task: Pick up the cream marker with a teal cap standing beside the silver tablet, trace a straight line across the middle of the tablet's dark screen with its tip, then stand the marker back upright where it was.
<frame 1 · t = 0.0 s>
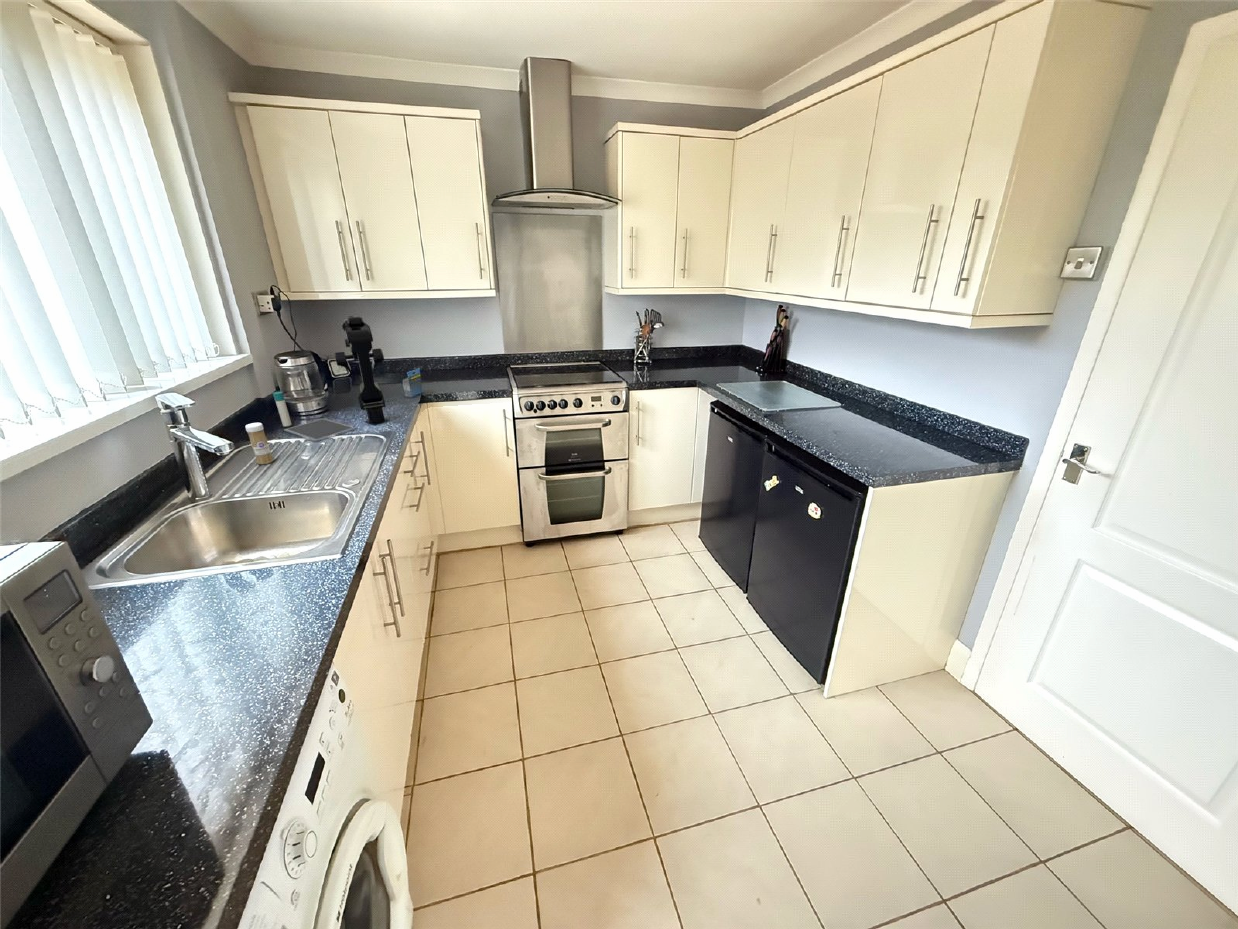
hand: (362, 370, 221), 15 cm above the worktop, tool tilted 35°, fingers open, 9 cm apart
sprinkles bottle: (266, 462, 165), on the worktop
label tape box: (414, 395, 238), on the worktop
tablet: (320, 430, 193), on the worktop
marker: (287, 426, 197), on the worktop
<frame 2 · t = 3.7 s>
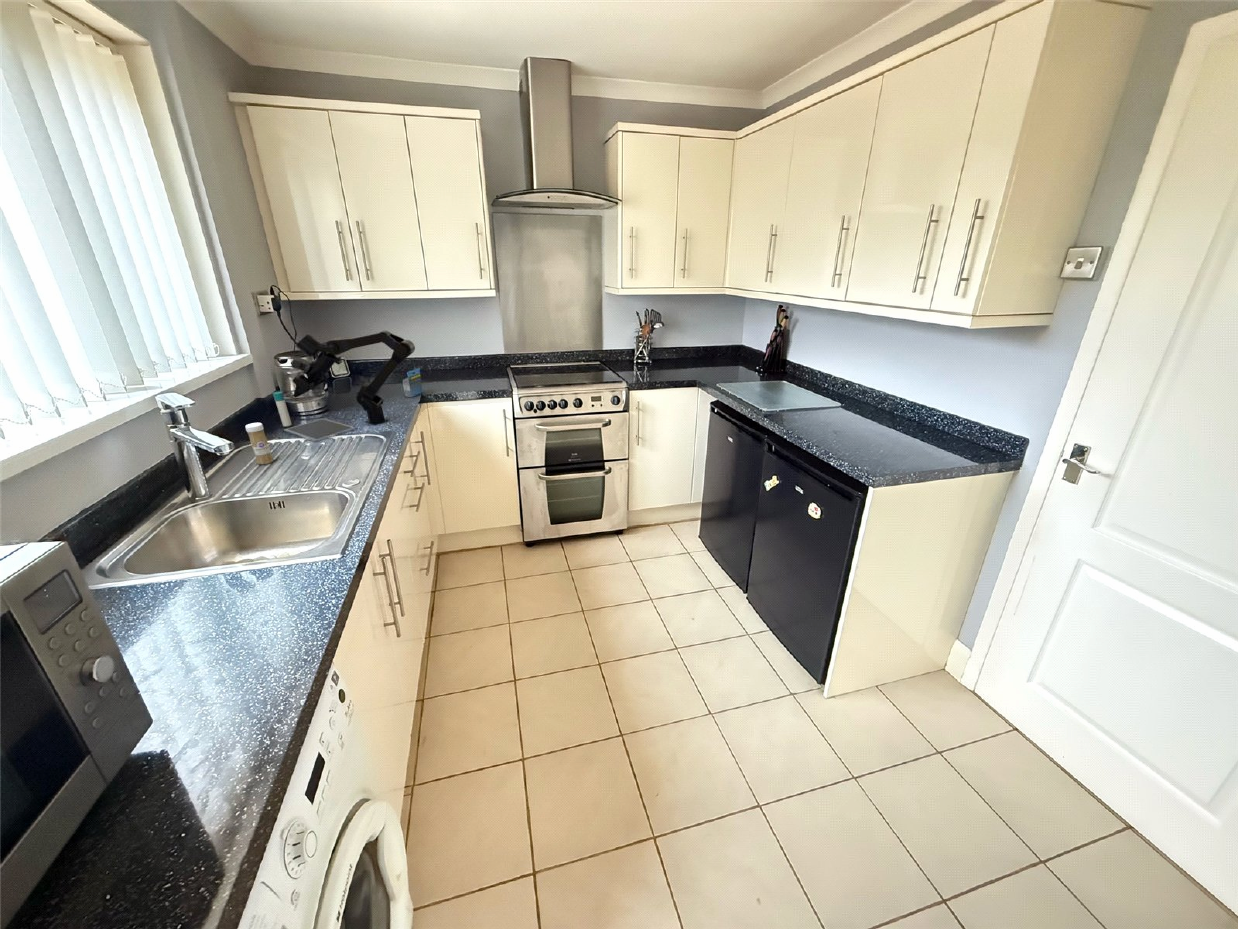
hand: (299, 393, 194), 13 cm above the worktop, tool tilted 45°, fingers open, 9 cm apart
nothing on the worktop moved.
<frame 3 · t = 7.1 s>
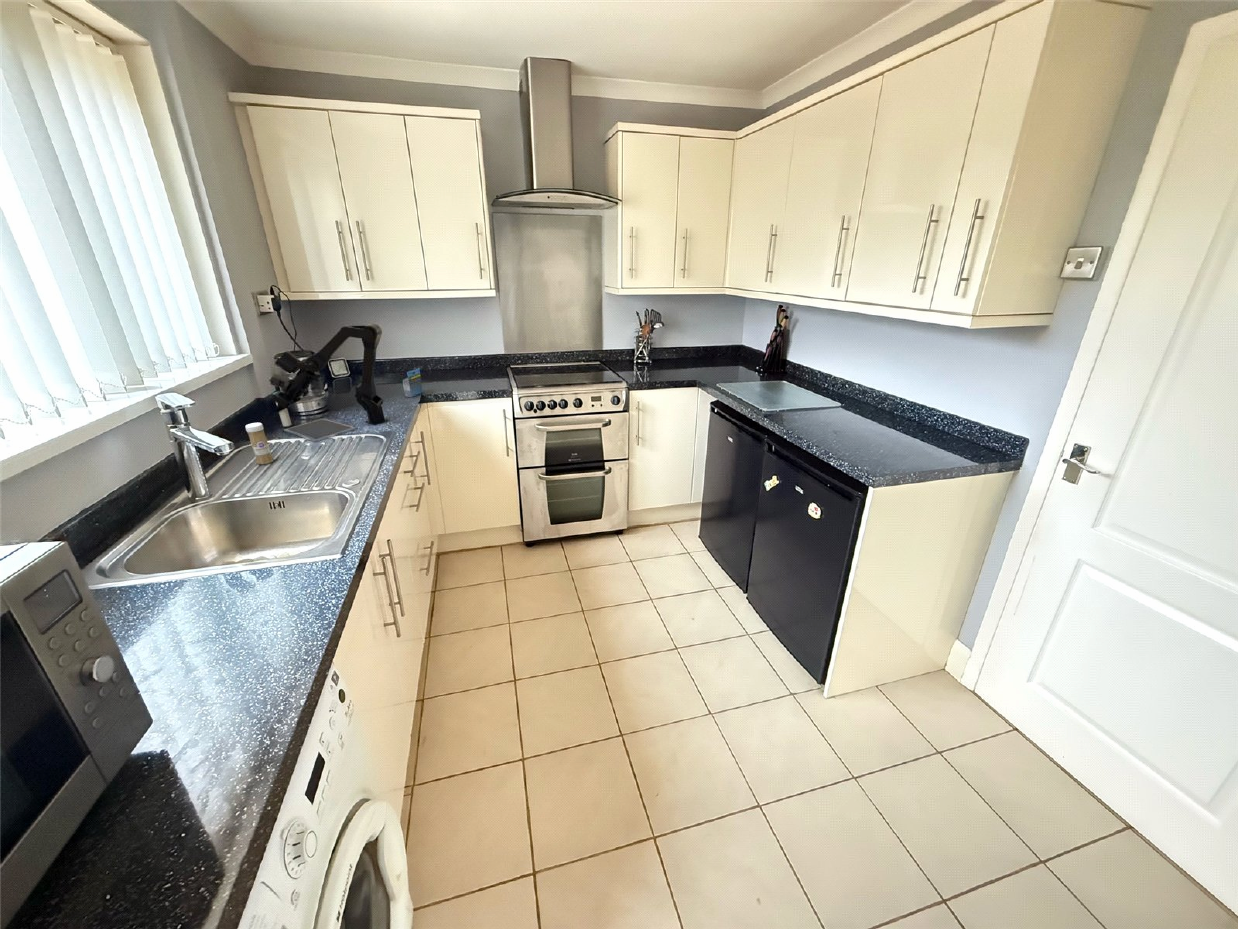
hand: (279, 410, 194), 7 cm above the worktop, tool tilted 45°, fingers closed on marker, 3 cm apart
marker: (287, 426, 197), on the worktop, touching gripper
everything else where it was.
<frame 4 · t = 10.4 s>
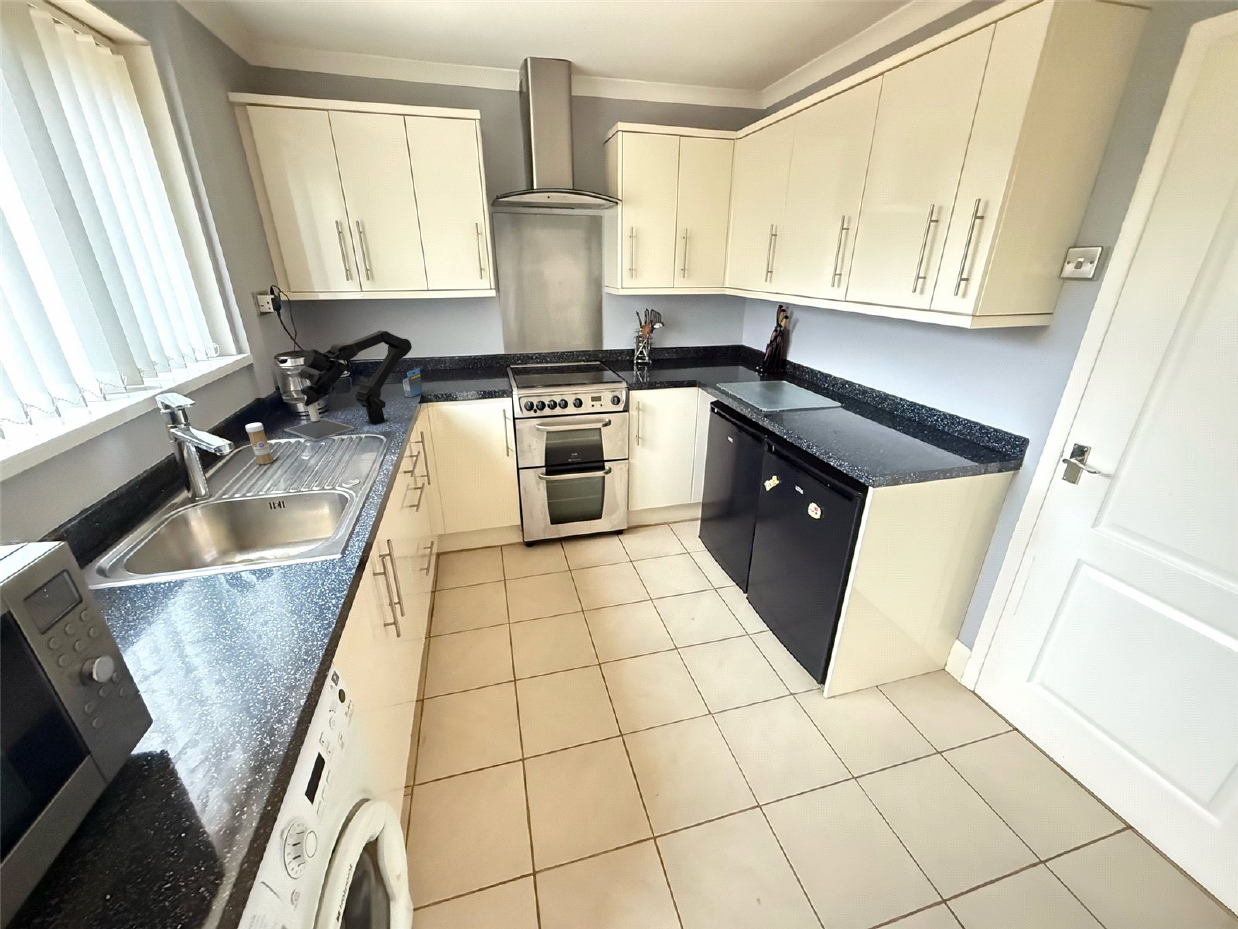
hand: (307, 404, 187), 11 cm above the worktop, tool tilted 45°, fingers closed on marker, 3 cm apart
marker: (316, 421, 190), point 4 cm above the worktop, touching gripper
everything else where it was.
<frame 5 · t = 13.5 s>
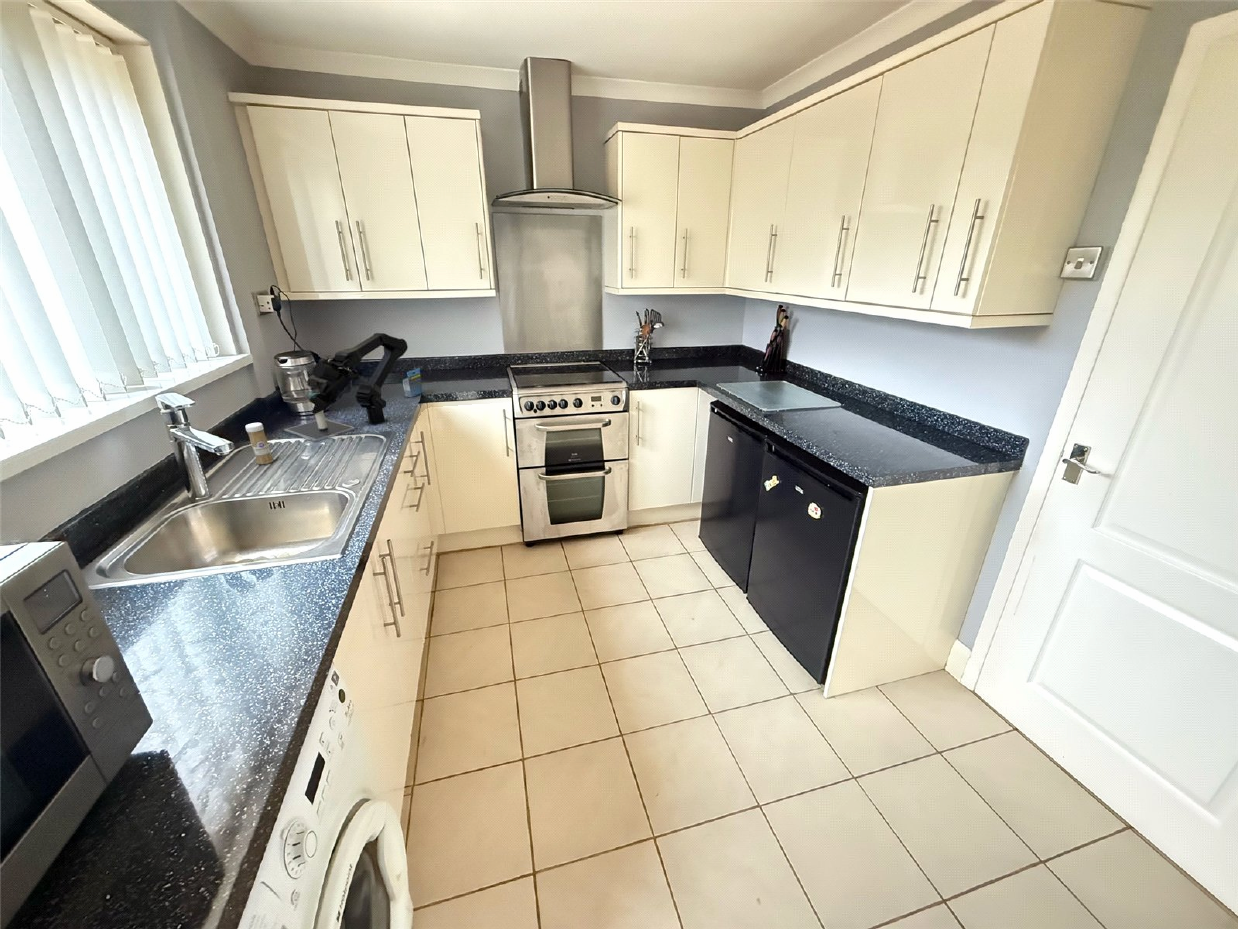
hand: (314, 412, 188), 8 cm above the worktop, tool tilted 45°, fingers closed on marker, 3 cm apart
marker: (323, 429, 191), point 1 cm above the worktop, touching gripper
everything else where it was.
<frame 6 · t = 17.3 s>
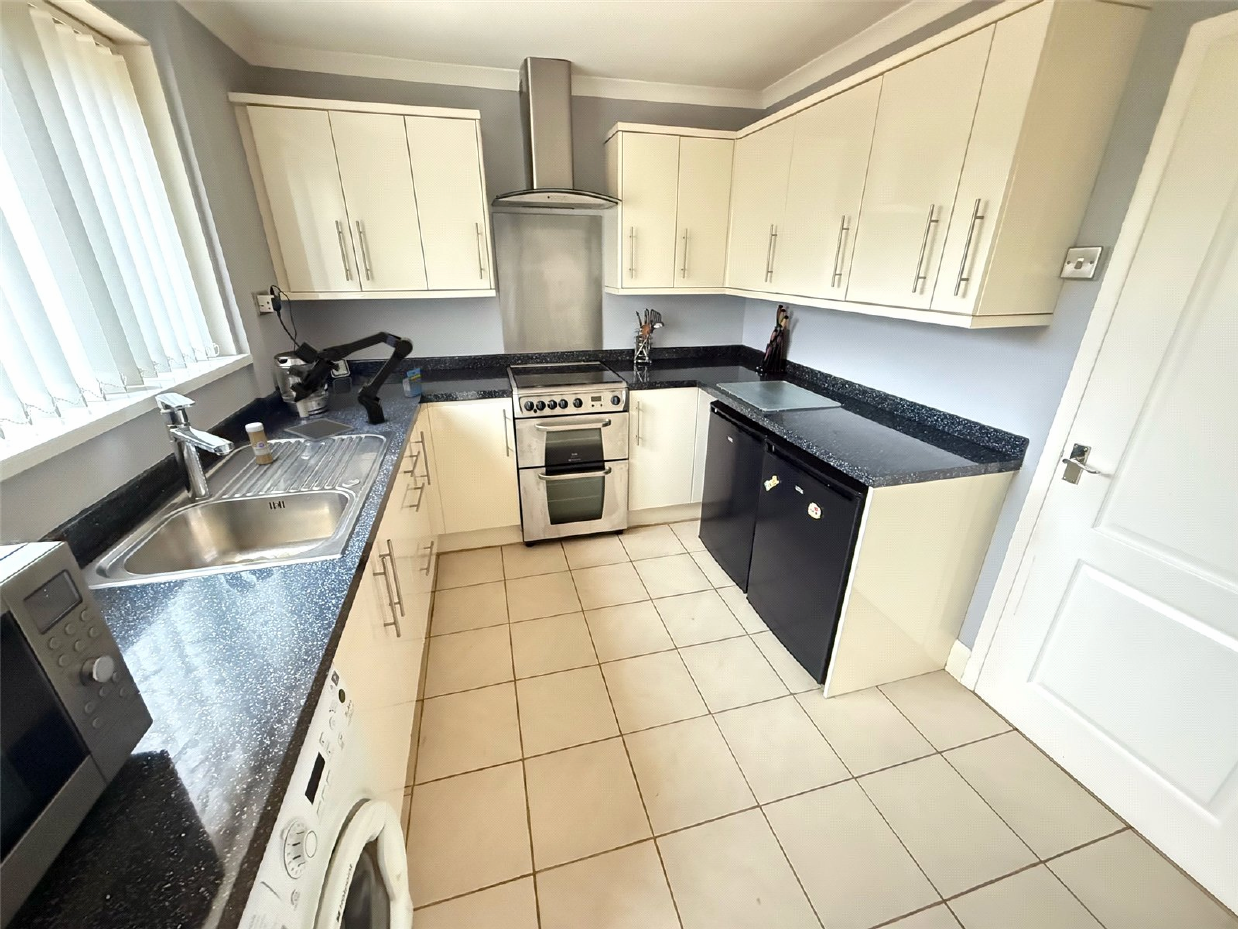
hand: (296, 400, 192), 11 cm above the worktop, tool tilted 45°, fingers closed on marker, 3 cm apart
marker: (305, 417, 195), point 4 cm above the worktop, touching gripper
everything else where it was.
when the fingers open (7 cm above the worktop, at t = 20.2 s): marker stays where it is, on the worktop.
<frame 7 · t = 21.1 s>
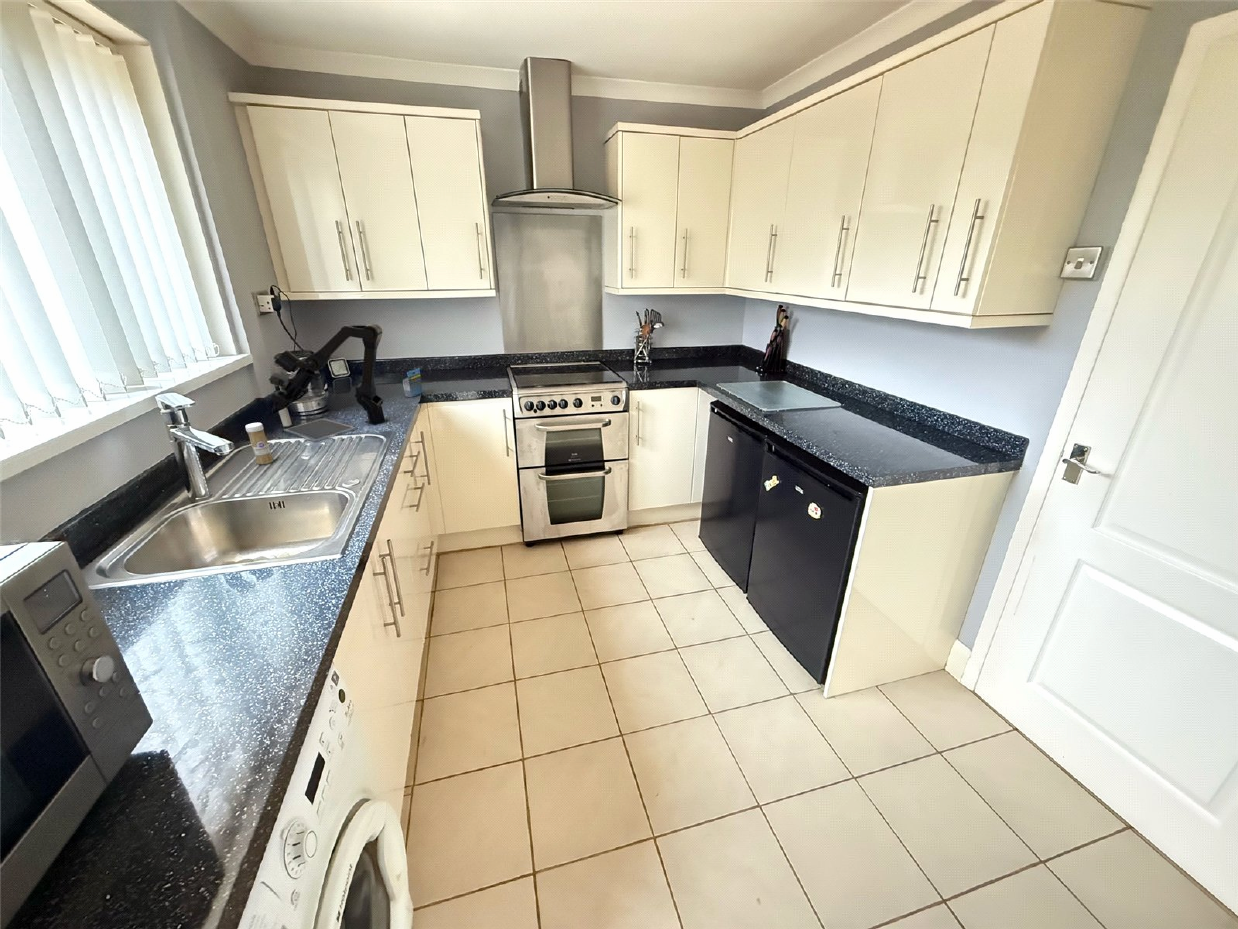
hand: (278, 409, 194), 7 cm above the worktop, tool tilted 45°, fingers open, 9 cm apart
marker: (287, 426, 197), on the worktop
everything else where it was.
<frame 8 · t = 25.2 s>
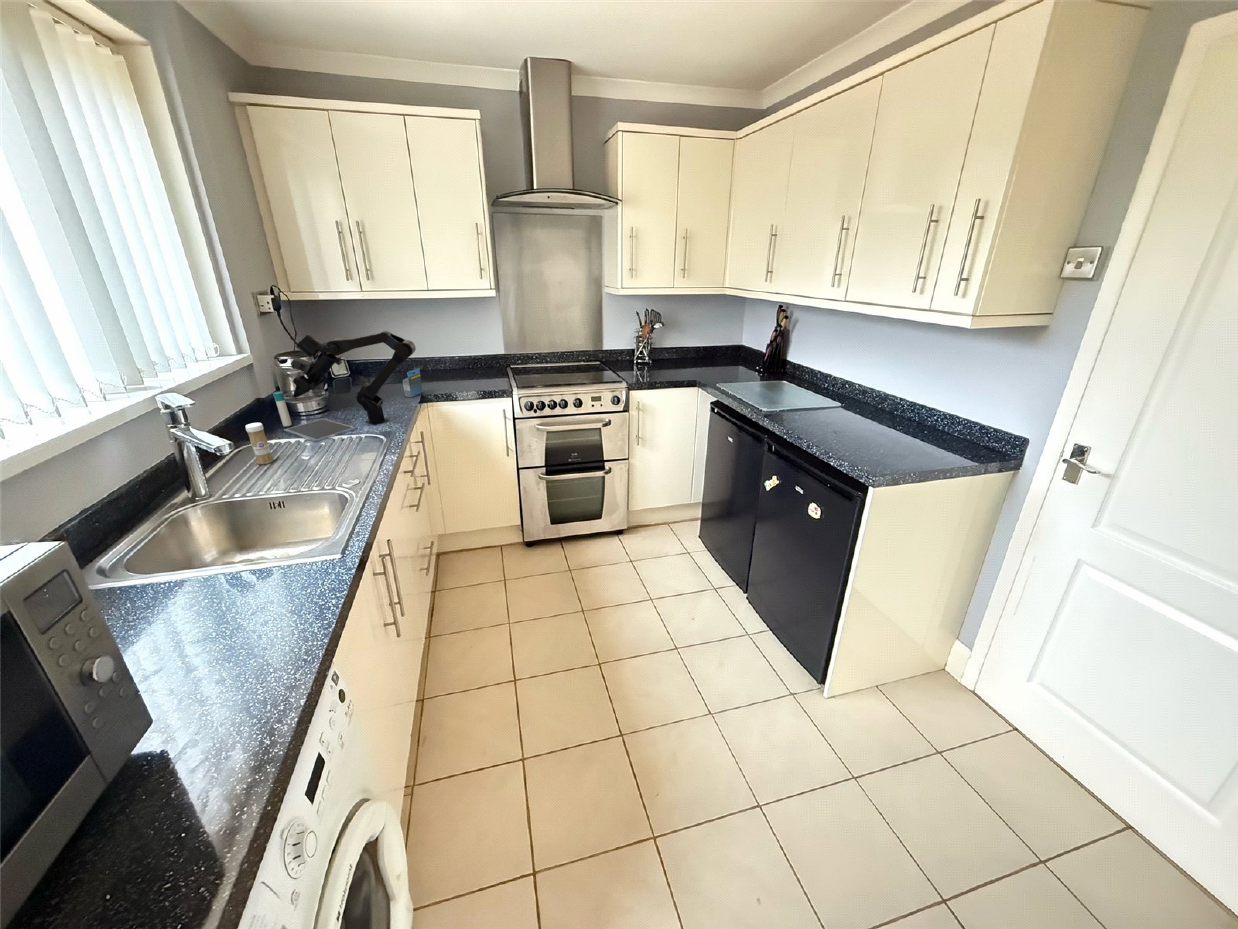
hand: (299, 394, 193), 13 cm above the worktop, tool tilted 45°, fingers open, 9 cm apart
nothing on the worktop moved.
at the end: marker inside the target area (0.1 cm from its centre), on the worktop; marker tilted 0°; the gripper is holding nothing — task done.
